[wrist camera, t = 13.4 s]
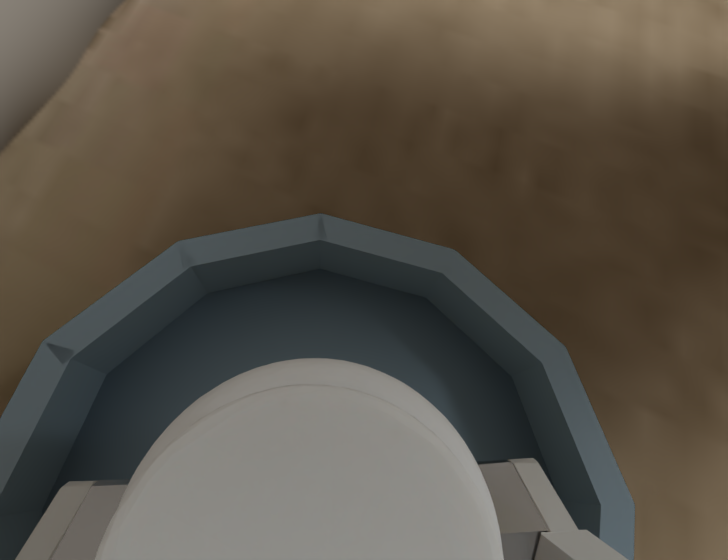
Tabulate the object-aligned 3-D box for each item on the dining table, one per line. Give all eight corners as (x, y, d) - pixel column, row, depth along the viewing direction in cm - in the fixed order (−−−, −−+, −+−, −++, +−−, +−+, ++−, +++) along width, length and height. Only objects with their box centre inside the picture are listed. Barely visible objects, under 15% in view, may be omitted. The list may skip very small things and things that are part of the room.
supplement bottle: (278, 379, 15) (208, 229, 5) (436, 458, 14) (658, 445, 5) (178, 561, 13) (-216, 826, 3) (359, 661, 12) (488, 1300, 3)
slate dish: (169, 214, 19) (139, 164, 16) (584, 327, 19) (638, 299, 16) (-104, 771, 12) (-251, 877, 9) (542, 956, 12) (622, 1132, 9)
